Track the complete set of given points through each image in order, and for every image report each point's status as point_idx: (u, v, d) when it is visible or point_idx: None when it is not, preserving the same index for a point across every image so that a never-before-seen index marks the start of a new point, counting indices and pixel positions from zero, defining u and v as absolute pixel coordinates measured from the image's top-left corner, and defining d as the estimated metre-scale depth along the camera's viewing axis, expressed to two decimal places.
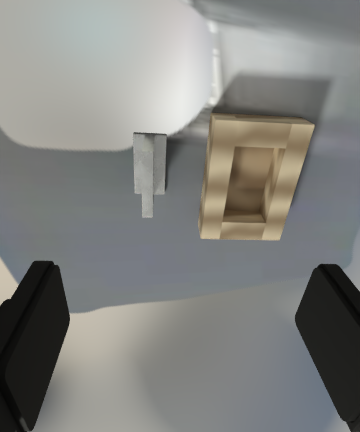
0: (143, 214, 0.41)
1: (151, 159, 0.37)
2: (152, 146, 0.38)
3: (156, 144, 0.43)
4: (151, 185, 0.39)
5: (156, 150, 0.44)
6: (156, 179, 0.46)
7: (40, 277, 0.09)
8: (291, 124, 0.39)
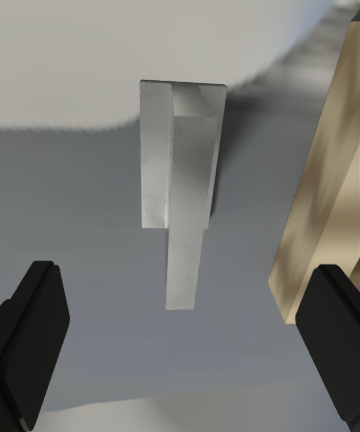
0: (170, 301, 0.15)
1: (208, 147, 0.10)
2: (206, 104, 0.12)
3: None
4: (199, 230, 0.12)
5: None
6: None
7: (40, 277, 0.09)
8: None
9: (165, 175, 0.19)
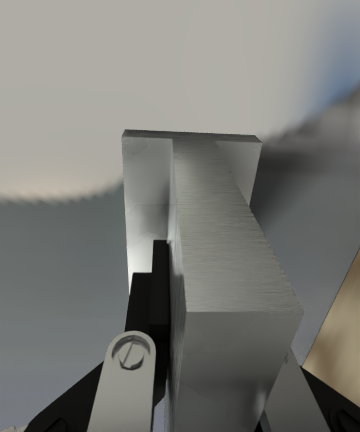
0: None
1: (268, 360, 0.04)
2: (248, 218, 0.05)
3: None
4: None
5: None
6: None
7: (165, 252, 0.10)
8: None
9: None
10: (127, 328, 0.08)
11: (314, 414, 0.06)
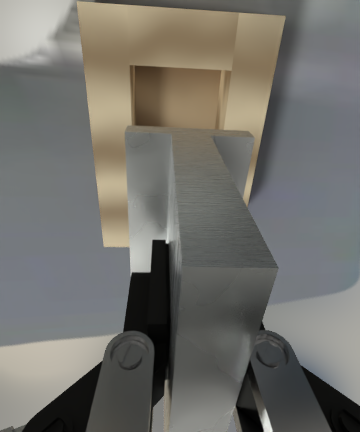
0: None
1: (251, 312, 0.05)
2: (238, 199, 0.06)
3: None
4: (223, 417, 0.07)
5: None
6: None
7: (164, 252, 0.10)
8: (237, 14, 0.19)
9: None
10: (126, 328, 0.08)
11: (316, 414, 0.06)
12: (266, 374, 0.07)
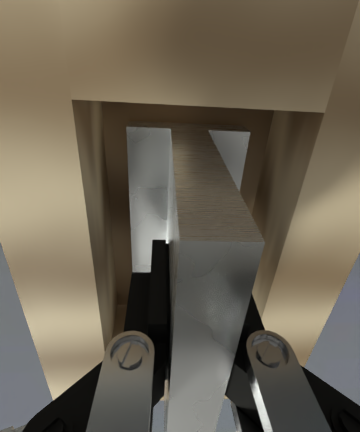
0: None
1: (242, 284, 0.05)
2: (231, 186, 0.07)
3: None
4: (219, 388, 0.07)
5: None
6: None
7: (164, 252, 0.10)
8: None
9: None
10: (126, 328, 0.08)
11: (316, 414, 0.06)
12: (266, 374, 0.07)
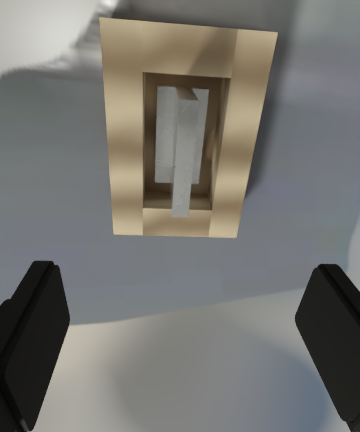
0: (174, 211, 0.25)
1: (195, 115, 0.21)
2: (195, 96, 0.23)
3: None
4: (191, 162, 0.23)
5: None
6: None
7: (40, 277, 0.09)
8: (236, 30, 0.22)
9: (171, 145, 0.30)
10: None
11: None
12: None
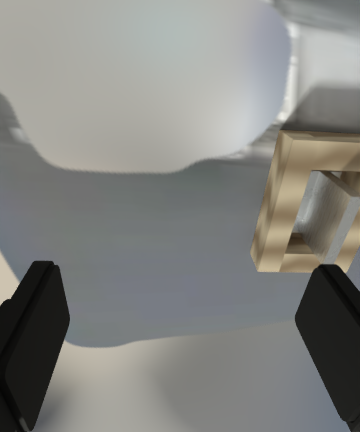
0: (325, 261, 0.36)
1: (358, 205, 0.32)
2: (351, 188, 0.33)
3: None
4: (346, 232, 0.34)
5: None
6: None
7: (40, 277, 0.09)
8: None
9: (306, 207, 0.41)
10: None
11: None
12: None
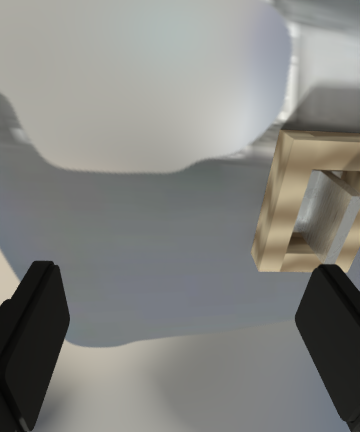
0: (326, 261, 0.36)
1: (359, 204, 0.32)
2: (352, 188, 0.33)
3: None
4: (347, 232, 0.34)
5: None
6: None
7: (40, 277, 0.09)
8: None
9: (306, 207, 0.41)
10: None
11: None
12: None
